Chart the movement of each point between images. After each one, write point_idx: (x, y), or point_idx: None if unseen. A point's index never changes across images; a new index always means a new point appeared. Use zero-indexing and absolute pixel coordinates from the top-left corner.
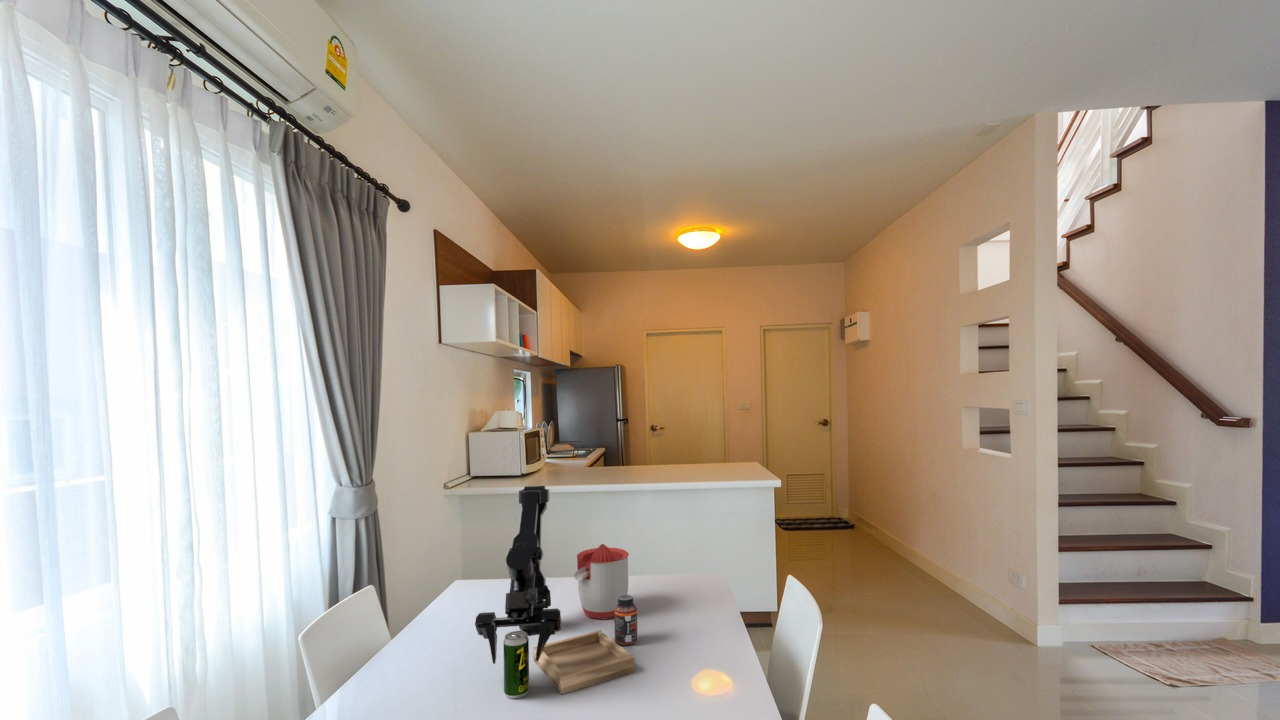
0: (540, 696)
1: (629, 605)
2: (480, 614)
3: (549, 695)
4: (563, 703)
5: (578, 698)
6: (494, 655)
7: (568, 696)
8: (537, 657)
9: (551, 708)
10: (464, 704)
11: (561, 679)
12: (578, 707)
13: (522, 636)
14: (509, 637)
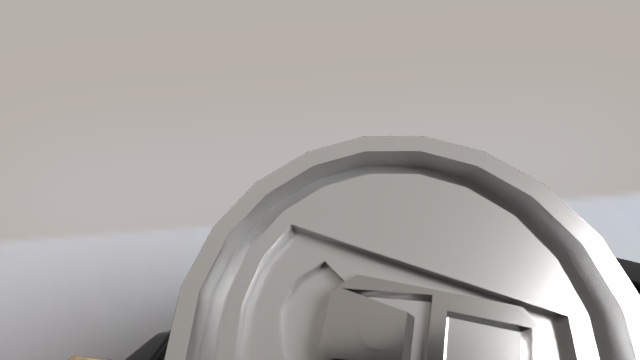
0: None
1: None
2: None
3: None
4: (119, 279)
5: (47, 327)
6: None
7: (93, 344)
8: (158, 338)
9: (171, 236)
10: (607, 238)
11: (74, 357)
12: (57, 252)
13: (267, 344)
14: (497, 239)
